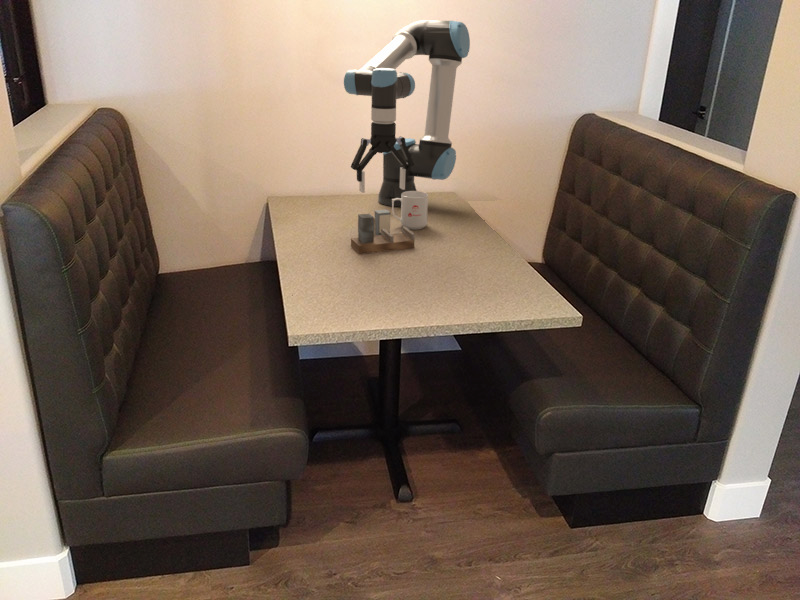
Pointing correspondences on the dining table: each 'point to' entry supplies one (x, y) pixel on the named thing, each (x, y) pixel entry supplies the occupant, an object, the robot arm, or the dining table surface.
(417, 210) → the mug
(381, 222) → the grey block tan top
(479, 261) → the dining table surface
